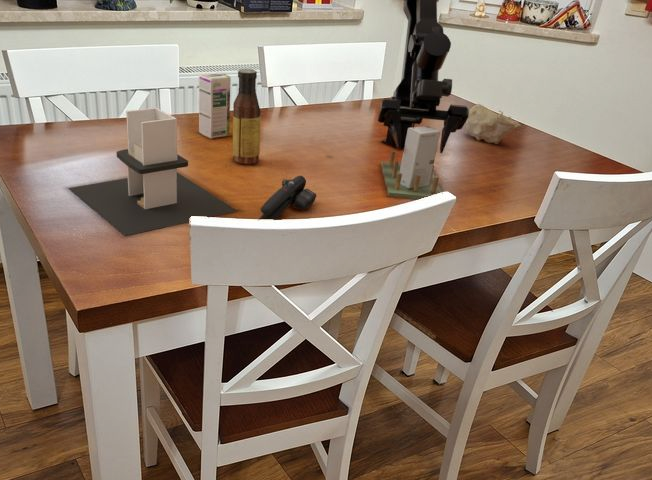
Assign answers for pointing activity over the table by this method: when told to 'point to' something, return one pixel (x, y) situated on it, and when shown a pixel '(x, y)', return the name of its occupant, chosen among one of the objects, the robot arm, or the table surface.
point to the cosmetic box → (419, 155)
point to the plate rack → (397, 190)
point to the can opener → (288, 198)
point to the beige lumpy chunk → (489, 124)
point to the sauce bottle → (246, 120)
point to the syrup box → (214, 104)
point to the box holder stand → (150, 180)
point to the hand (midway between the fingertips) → (420, 150)
